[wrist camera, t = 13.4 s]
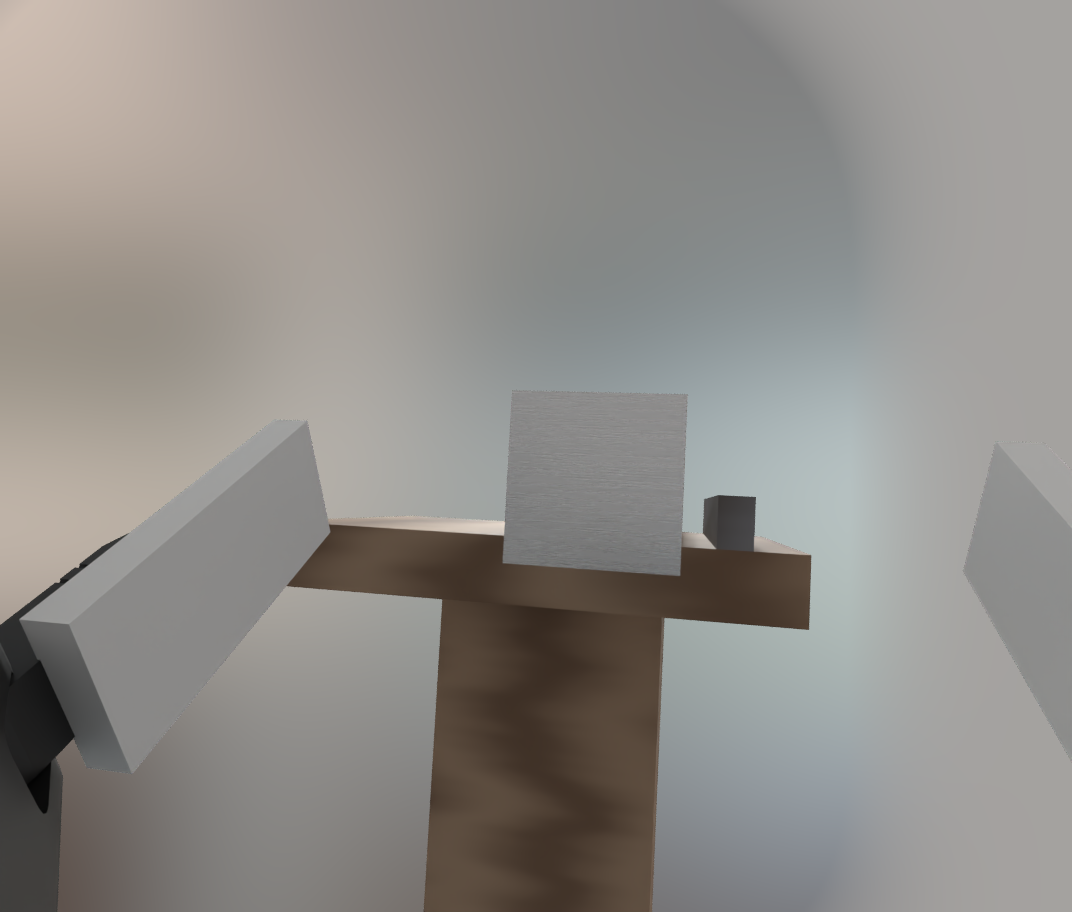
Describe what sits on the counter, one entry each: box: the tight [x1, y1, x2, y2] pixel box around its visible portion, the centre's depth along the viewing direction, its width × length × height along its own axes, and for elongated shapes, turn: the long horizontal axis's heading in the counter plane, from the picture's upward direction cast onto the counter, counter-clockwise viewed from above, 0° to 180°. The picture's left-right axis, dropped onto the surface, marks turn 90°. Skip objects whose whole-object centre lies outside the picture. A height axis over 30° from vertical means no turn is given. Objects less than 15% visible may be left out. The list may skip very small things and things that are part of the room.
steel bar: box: [503, 390, 688, 576], centre depth 24 cm, size 3×24×3 cm, turn 169°
